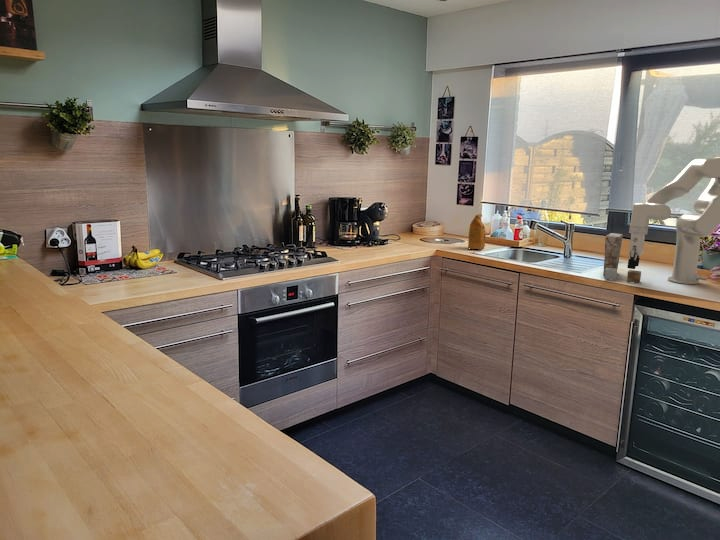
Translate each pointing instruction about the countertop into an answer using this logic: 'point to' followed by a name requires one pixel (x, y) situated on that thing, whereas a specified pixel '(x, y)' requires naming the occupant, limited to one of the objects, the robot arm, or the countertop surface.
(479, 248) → the coffee package
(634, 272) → the walnut cube
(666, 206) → the robot arm
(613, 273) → the slate grey cube
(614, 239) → the stone block
